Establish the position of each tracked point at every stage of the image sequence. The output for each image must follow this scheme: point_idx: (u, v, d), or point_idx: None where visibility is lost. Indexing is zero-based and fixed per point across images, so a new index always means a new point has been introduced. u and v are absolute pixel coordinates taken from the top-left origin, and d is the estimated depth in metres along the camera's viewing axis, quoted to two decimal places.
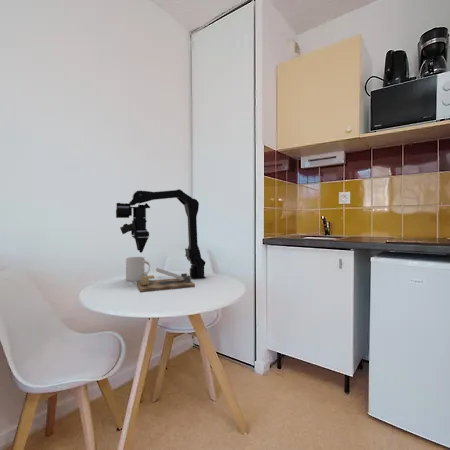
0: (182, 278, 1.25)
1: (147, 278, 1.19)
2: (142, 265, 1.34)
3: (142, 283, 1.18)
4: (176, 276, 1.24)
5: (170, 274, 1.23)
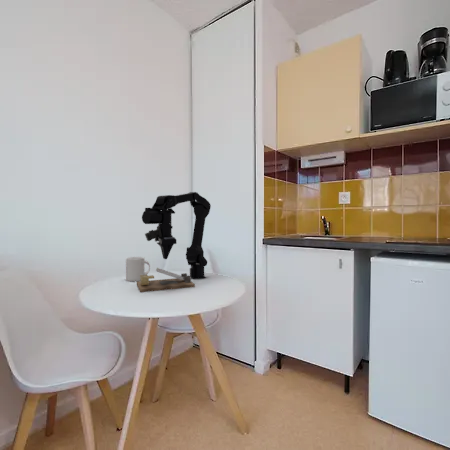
0: (182, 278, 1.25)
1: (147, 278, 1.19)
2: (142, 265, 1.34)
3: (142, 283, 1.18)
4: (176, 276, 1.24)
5: (170, 274, 1.23)
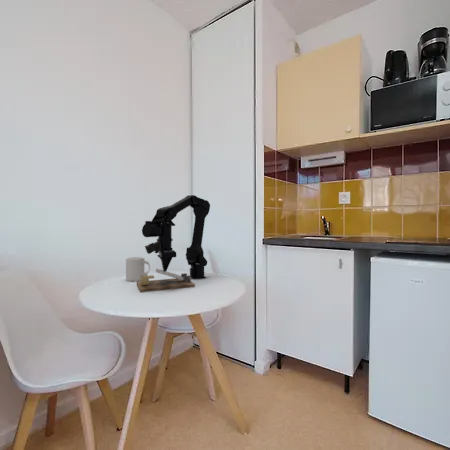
0: (182, 278, 1.25)
1: (147, 278, 1.19)
2: (142, 265, 1.34)
3: (142, 283, 1.18)
4: (176, 276, 1.24)
5: (170, 274, 1.23)
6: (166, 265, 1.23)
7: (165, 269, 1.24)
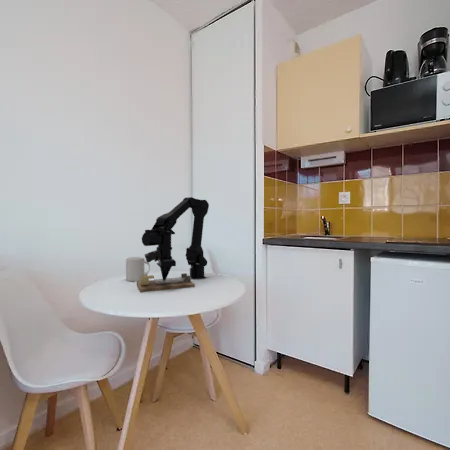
0: (182, 280, 1.25)
1: (147, 278, 1.19)
2: (142, 265, 1.34)
3: (142, 283, 1.18)
4: (175, 280, 1.24)
5: (169, 281, 1.23)
6: (165, 274, 1.23)
7: (164, 278, 1.23)
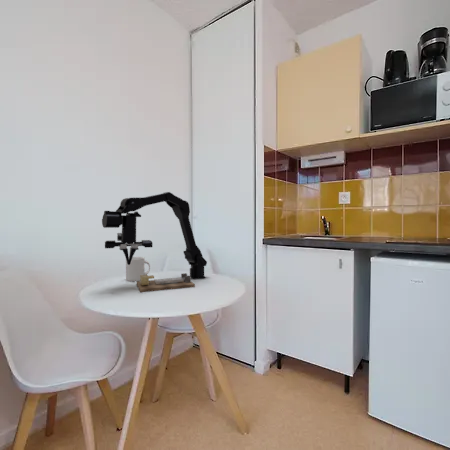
0: (182, 280, 1.25)
1: (147, 278, 1.19)
2: (142, 265, 1.34)
3: (142, 283, 1.18)
4: (175, 280, 1.24)
5: (169, 281, 1.23)
6: None
7: (127, 262, 1.18)
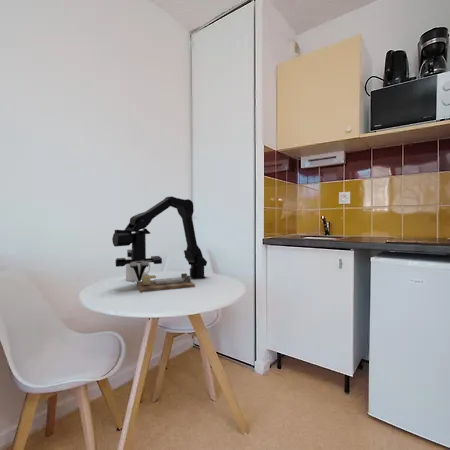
0: (182, 280, 1.25)
1: (149, 278, 1.19)
2: None
3: (144, 283, 1.18)
4: (175, 280, 1.24)
5: (169, 281, 1.23)
6: (136, 275, 1.19)
7: None
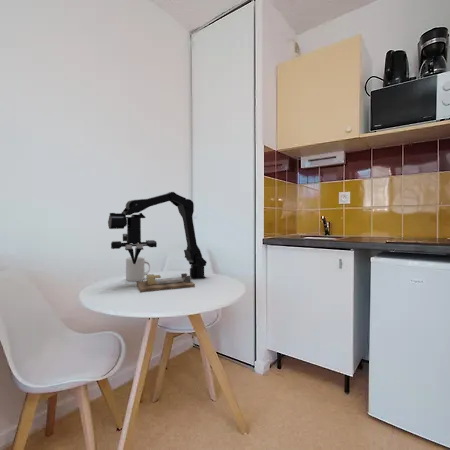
0: (182, 280, 1.25)
1: (154, 277, 1.20)
2: (142, 265, 1.34)
3: (149, 282, 1.19)
4: (175, 280, 1.24)
5: (169, 281, 1.23)
6: (131, 258, 1.22)
7: None
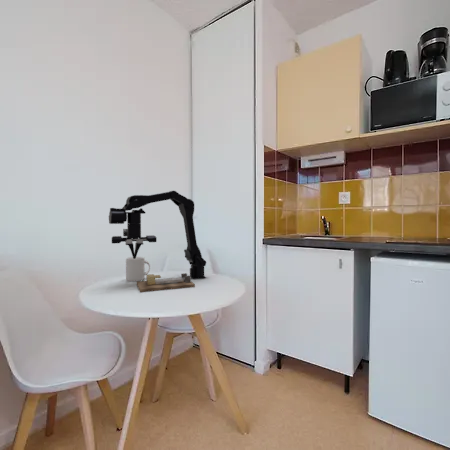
0: (182, 280, 1.25)
1: (154, 277, 1.20)
2: (142, 265, 1.34)
3: (149, 282, 1.19)
4: (175, 280, 1.24)
5: (169, 281, 1.23)
6: (131, 252, 1.24)
7: None
